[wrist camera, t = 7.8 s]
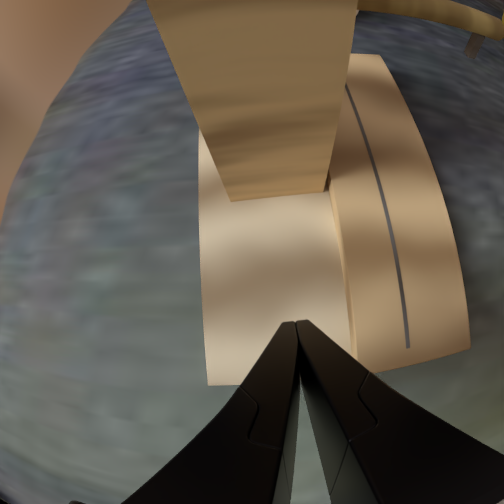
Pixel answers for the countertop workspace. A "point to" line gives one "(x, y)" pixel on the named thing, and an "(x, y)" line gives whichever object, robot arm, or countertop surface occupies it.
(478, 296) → the countertop surface
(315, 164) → the tan wooden tall block
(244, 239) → the board
